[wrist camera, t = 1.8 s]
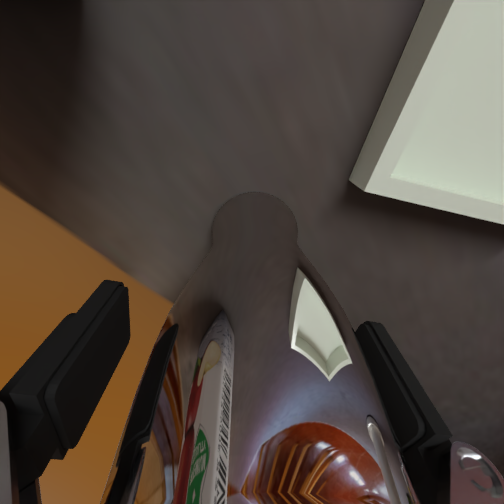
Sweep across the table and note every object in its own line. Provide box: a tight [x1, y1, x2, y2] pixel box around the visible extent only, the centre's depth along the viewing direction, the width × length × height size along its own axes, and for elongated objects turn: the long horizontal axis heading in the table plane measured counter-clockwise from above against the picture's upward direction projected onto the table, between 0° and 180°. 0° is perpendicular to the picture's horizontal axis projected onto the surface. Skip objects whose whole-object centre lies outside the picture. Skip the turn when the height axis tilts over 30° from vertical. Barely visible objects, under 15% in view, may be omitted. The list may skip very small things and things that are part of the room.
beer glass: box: [100, 192, 422, 504], centre depth 11 cm, size 7×7×15 cm
